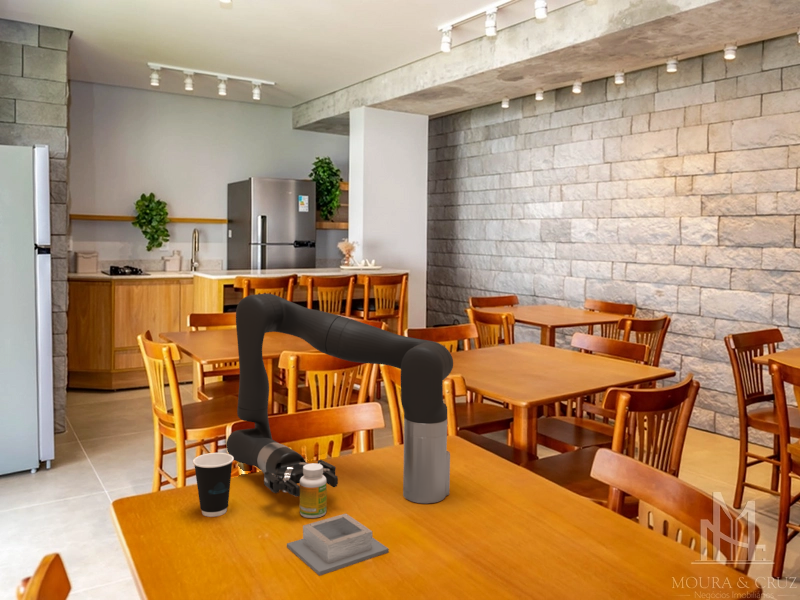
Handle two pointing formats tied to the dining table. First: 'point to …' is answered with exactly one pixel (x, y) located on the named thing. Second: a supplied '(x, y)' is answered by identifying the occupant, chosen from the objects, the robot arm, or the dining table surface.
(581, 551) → the dining table surface
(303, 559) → the socket board
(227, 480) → the dixie cup
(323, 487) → the supplement bottle
